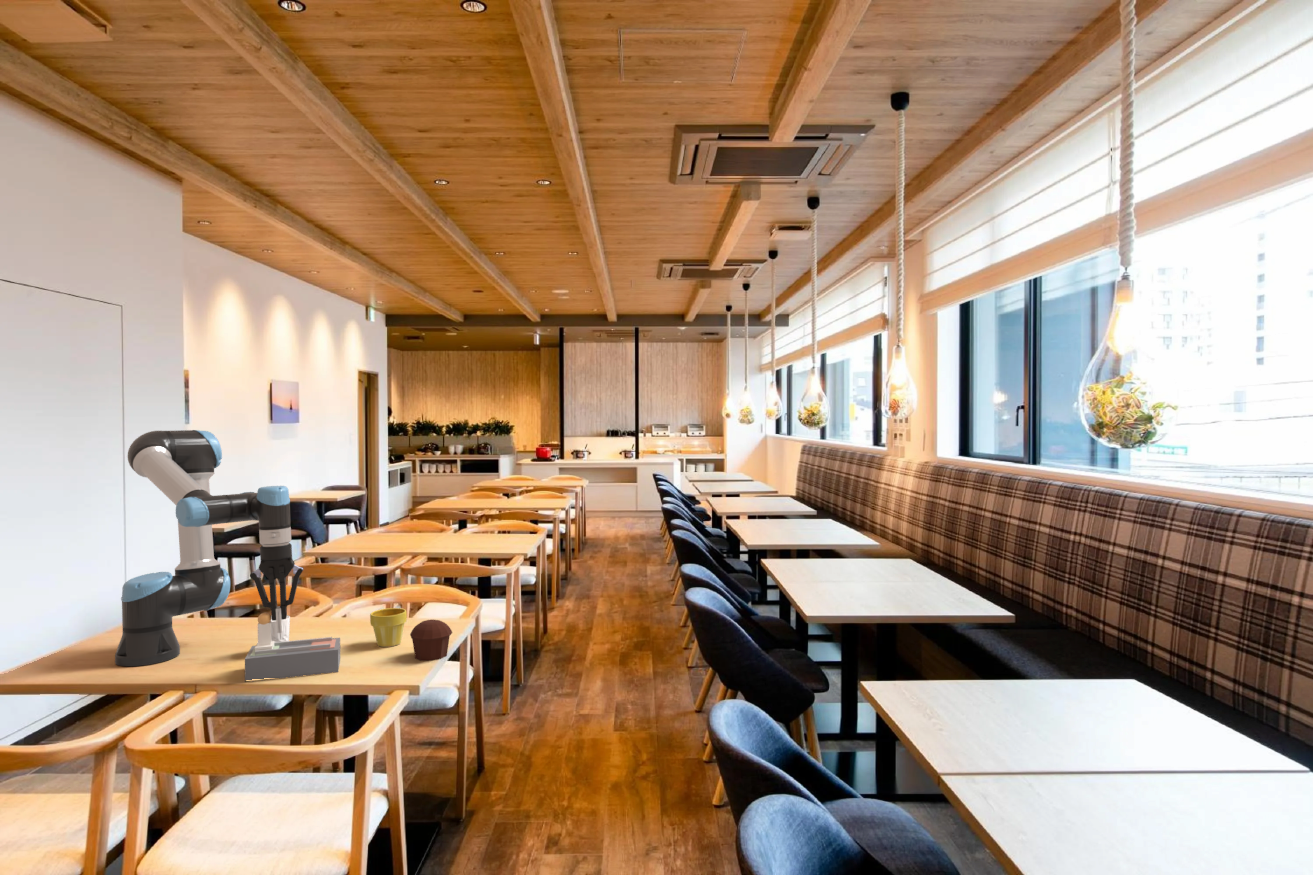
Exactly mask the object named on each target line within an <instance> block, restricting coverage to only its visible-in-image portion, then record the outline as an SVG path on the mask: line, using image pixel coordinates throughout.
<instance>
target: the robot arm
mask: <svg viewBox="0 0 1313 875" xmlns="http://www.w3.org/2000/svg"><path fill="white" fill-rule="evenodd" d="M222 458H223V449H222V447H221V444H220V441H219V439H218V438H217V437H216V436H215V435H214V433H212V432H211V431H208V430H199V429H192V430H191V429H188V430H187V429H186V430H153V431H148V432H145V433H143V434H141V435H140V436H137V438H135V439H134V440H133V441H132V443H131V444H130V445H129V448H128V450H127V461H128V462H127V463H128V464H129V466H130V467H131V469H132V470H133V471H134V472H135V474H137V475H138V476H140V477H142V478H146V479H148V480H149V481H150V482H151V483H152V484H153V485H154V486H156V488H157V489H159V491H161V492H162V493H163V494H164V495H165V496H166V497H167V498H168V499H169V500H170V502H172V503H173V504H174V505H175V518H176V519H177V528H178V529H177V530H178V542H179V543H178V544H179V545H178V546H179V561H180V562H179V564H177V566H176V567H175V568H174V575H172V573H171V572H169V571H159V572H152V573H151V572H150V573H147V574H142V575H138V576H135V577H132V578H130V579H128V580H127V581H125V583H124V584H123V585H122V592H121V598H120V600H121V609H122V610H121V614H122V615H121V617H122V618H121V619H122V620H121V624H122V636H121V638H120V641H119V644H118V646H117V649H116V651H115V654H114V664H115V665H117V666H121V667H140V666H148V665H154V664H155V665H156V664H160V663H163V662H166V661H169V660H173V659H175V658H177V657H178V656H179V655H180V654H181V646H180V643H179V640H178V638H177V636H176V633H175V631H174V628H173V617H177V616H183V615H188V614H192V613H197V612H203V611H209V610H213V609H216V608H219V607H221V606H223V605H224V603H225V602H226V601H227V599H228V597H229V595H230V591H231V578H230V575H229V572H228V571H227V569H225V568H223V567H221V562H220V561H218V560H217V559H215V556H214V555H215V553H214V552H215V551H214V537H213V536H214V535H213V525H220V524H221V525H222V524H229V523H230V524H231V523H239V522H240V523H241V522H250V521H254V522H255V521H258V531H259V532H258V533H259V534H258V537H259V544H260V545H261V546H260V547H259V552H260V553H259V554H260V555H259V556H260V563H259V565H258V568H257V569H255V570H253V571H252V572H250V574H249V577H250V578H251V579H252V581H253V582H254V583H255V587H256V589H257V592H258V595H259V597H260V601H261V605H262V607H264V608H269V609H270V613H271V614H270V615H271V616H272V620H276V625H277V633H282V631H283V619H286V617H287V615H288V613H287V611H288V610H287V608H288V606H290V605H292V604H293V603H294V600H295V597H296V594H297V593H296V592H297V588H298V584H299V580H300V577H301V574H302V573H303V572H304V567H303V566H298V565H296V564H295V561H294V559H293V549H292V548H293V547H292V544H291V543H290V542H291V541H292V528H291V499H290V493H289V488H288V487H287V486H285V485H269V486H268V485H267V486H261V487H259V488H258V489H257V490H256V491H257V492H255V491H246V492H240V493H232V494H223V495H222V494H219V495H218V494H217V495H211V489H210V479H211V478H212V477H213V476H214V475H215V469H217V468H218V467H219V466H220V465H221V463H222ZM292 570H293V571H292ZM291 571H292V573H293V578H292V582H291V587H290V592H289V597H288V599H287V577H288V575H289V574H290V572H291ZM261 573H262V574H263V575H264V576H265V577H266V578H267V579H268V585H269V598H268V595H267V592H266V588H265V586H264V583H263V579H262V578H261V577H262V574H261ZM278 579H279V581H278V582H279V600H280V606H278V600H277V597H278V596H277V582H276V580H278ZM269 599H270V600H269Z"/></svg>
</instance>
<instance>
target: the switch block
mask: <svg viewBox="0 0 1313 875" xmlns="http://www.w3.org/2000/svg"><path fill="white" fill-rule="evenodd" d="M255 647H256V645H252V646H250V649H249V651H248V652H247V654H246V656H245V657H244V681H245V680H252V679H264V678H279V679H285V678H286V677H288V678H296V677H295V676H297V677H304V676H303V675H306V676H314V675H313V674H315V675H322V674H321V673H324V674H332V672H333V673H339V669H340V664H341V637H334V638H333V637H332V636H329V637H326V636H325V637H318V638H316V637H315V638H308V639H307V638H306V639H296V640H289V641H284V642H274V647H273V649H269V650H259V651H255Z"/></svg>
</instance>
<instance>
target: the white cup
mask: <svg viewBox="0 0 1313 875" xmlns="http://www.w3.org/2000/svg"><path fill="white" fill-rule="evenodd" d="M290 622H291V616H290V615H288V614H287V617H286V619H283V631H282V633H277V625H276V620H272V616H271V631H272V641H274V642H284V641H290V629H291V628H290V627H291V626H290V625H291V624H290Z"/></svg>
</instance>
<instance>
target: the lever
mask: <svg viewBox="0 0 1313 875" xmlns="http://www.w3.org/2000/svg"><path fill="white" fill-rule="evenodd" d="M257 622H258V623H257V644H256V645H255V646H256V647H255V651H259V650H269V649H273V647H274V641H272V631H271V614H270V613H268V612H262V613H261V614H259V615H258V616H257Z"/></svg>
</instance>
